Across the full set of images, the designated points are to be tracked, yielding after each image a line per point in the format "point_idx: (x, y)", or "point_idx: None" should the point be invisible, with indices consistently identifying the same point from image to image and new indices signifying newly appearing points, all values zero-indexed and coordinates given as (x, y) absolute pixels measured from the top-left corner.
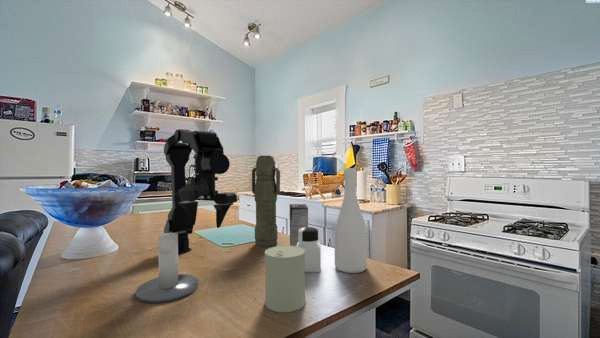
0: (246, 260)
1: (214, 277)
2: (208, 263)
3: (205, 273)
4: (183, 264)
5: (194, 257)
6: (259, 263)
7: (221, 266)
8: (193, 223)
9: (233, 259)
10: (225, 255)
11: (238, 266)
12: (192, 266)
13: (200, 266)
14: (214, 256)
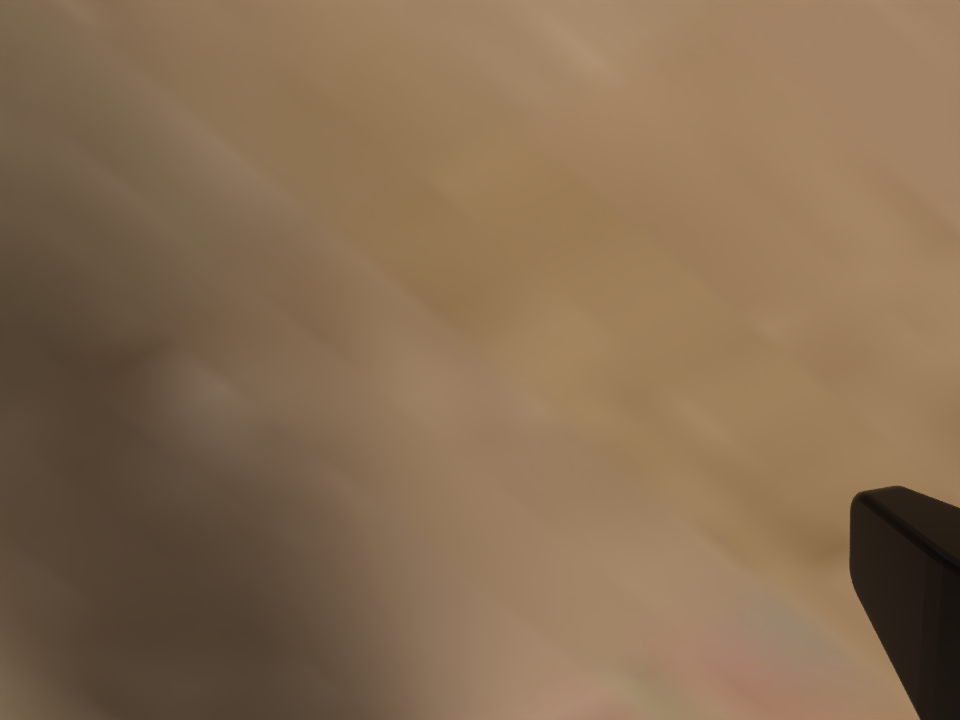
0: (236, 692)
1: (87, 127)
2: (562, 424)
3: (309, 168)
4: (833, 248)
5: (889, 480)
6: (26, 696)
7: (333, 431)
8: (882, 574)
9: (397, 647)
10: (588, 690)
11: (153, 525)
12: (666, 256)
13: (570, 306)
14: (683, 612)
